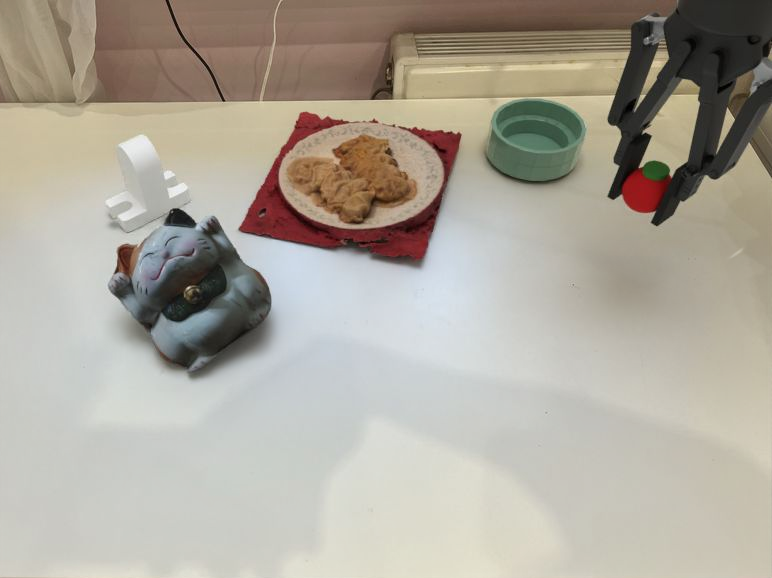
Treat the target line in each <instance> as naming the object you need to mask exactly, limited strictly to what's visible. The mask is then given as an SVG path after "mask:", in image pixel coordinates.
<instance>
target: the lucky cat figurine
mask: <svg viewBox="0 0 772 578" xmlns="http://www.w3.org/2000/svg"><path fill="white" fill-rule="evenodd" d="M116 255H117V259H116V267H115V269H114V272H113V274H112V276H111V277H110V280H109V281H108V282H107V287H108V289H109V292H110V293H111V295H113V296H114V297H115V298H117V299H118V300H119V302H120V303H121V304H122V306H123V307H124V308H125V310H126V311H128V312H129V313H130V315H131V317H132V318H133V319H135V320H136V321H137V322H138V323H139V325H141V326H142V327H143V328H144V330H145V332H147V333H148V335H149V336H150V337H151V339H152V341H153V343H154V346H155V348H156V350H157V352H158V354H159V355H160V357H162V358H163V359H164V360H166V361H167V362H169V363H172V364H175V365H178V366H180V367H182V368H184V369H187V373H190V372H191V373H192V372H194V371H196V370H198V369H201V368H203V367H205V366H206V365H208V364H209V362H211V361H212V360H213V359H214V358H215V357H216V356H218V354H220V353H221V352H222V351H223V350H225V349H226V348H227V347H229V346H231V345H233V343H235V342H237V341H238V340H240V339H241V338H243V337H244V336H246V335H248V334H249V333H251V332H252V331H253V330H256V328H257V327H259V326H260V325H261V324H262V323H263V322H264V320H265V319H266V318H268V317H269V314H270V312H271V309H272V301H273V300H272V293H271V290H270V287H269V284H268V282H267V280H266V279H265V277H264V276H263V275H262V273H261V272H260V271H258V270H257V269H256V268H254V267H251V266H249V265H248V264H247V263H246V262H245V261H243V259H242V258H241V256H240V255H239V253H238V250H237V248H236V247H235V246H234V244H233V242H232V241H231V240H230V238H229V237H228V236H227V234H226V233H225V230H224V228H223V227H222V225H221V223H220V221H219V219H218V218H217V217H216V216H215V215H211V214H210V215H207V216H205V217H204V218H203V219H202V220H200V221H198V222H196V220H195V219H194V218H193V217H192V216H191V215H190V214H188V212H186V211H185V210H183V209H181V208H180V207H178V208H173V209H171V210H170V212H169V213H167V216H166V218H165V219H164V221H163V223H162V225H161V226H159V227H158V228H156V229H154V230H152V232H151V233H150V234H149V235H148V236H146V238H144V239H143V241H141V243H140V244H138V243H137V244H130V243H124V244H121V245H119V246H118V247H117V248H116Z"/></svg>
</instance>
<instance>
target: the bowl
mask: <svg viewBox="0 0 772 578" xmlns="http://www.w3.org/2000/svg"><path fill="white" fill-rule="evenodd" d="M587 131H588V130H587V126H586V122H585V120H584V119H583V118H582V116H581V115H580V114H579V113H578V112H577V111H576V110H574V109H573V108H572V107H569V106H568V105H565V104H563V103H560V102H558V101H555V100H550V99H545V98H538V97H537V98H536V97H535V98H529V97H528V98H527V97H526V98H519V99H513V100H511V101H508V102H506V103H504V104H502V105H500V106H499V107H498V108H497V109H496V110H495V111H494V112H493V114H492V117H491V119H490V123H489V127H488V133H487V137H486V142H485V143H486V144H485V154H486V157H487V159H488V161H489V162H490V163H491V164H492V165H493V167H495V168H496V169H498V170H499V171H500V172H502V173H504V174H506V175H507V176H510V177H512V178H516V179H520V180H525V181H531V182H532V181H533V182H537V181H538V182H545V181H550V180H551V181H552V180H555V179H560V178H561V177H563V176H565V175H567V174H569V173H570V172H571V171H572V170H573V169H574V168H575V167H576V165H577V162H578V159H579V156H580V154H581V151H582V147H583V145H584V141H585V139H586V135H587Z"/></svg>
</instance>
